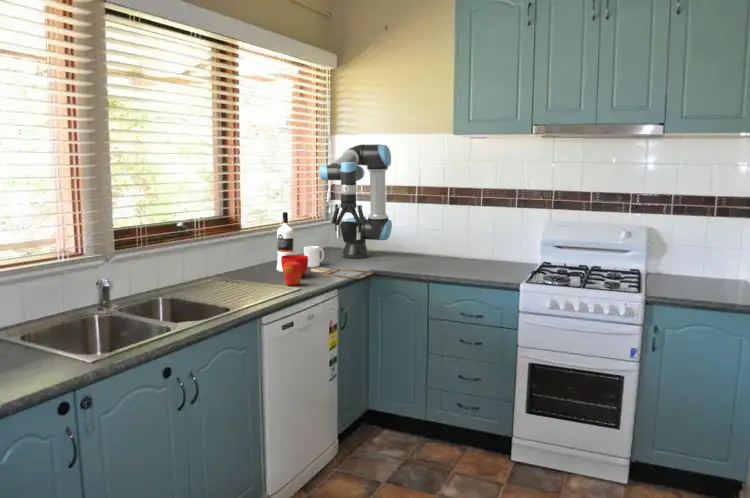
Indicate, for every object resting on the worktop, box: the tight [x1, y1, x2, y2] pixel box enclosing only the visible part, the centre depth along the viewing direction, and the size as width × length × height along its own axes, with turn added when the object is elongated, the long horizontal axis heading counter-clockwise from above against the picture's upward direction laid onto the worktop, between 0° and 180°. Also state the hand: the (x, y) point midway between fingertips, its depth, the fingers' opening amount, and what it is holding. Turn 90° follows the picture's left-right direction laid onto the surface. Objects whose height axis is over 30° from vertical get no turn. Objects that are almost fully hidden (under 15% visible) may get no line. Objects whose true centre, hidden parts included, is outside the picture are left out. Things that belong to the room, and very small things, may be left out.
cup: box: [303, 245, 325, 268], centre depth 334 cm, size 8×12×10 cm
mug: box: [340, 221, 358, 243], centre depth 309 cm, size 8×12×10 cm
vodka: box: [276, 211, 295, 273], centre depth 315 cm, size 9×9×30 cm
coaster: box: [309, 267, 333, 274], centre depth 320 cm, size 11×11×1 cm
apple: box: [283, 259, 302, 286], centre depth 283 cm, size 9×8×12 cm
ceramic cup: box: [281, 254, 308, 278], centre depth 303 cm, size 13×17×10 cm
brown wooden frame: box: [320, 267, 376, 280], centre depth 311 cm, size 19×21×1 cm
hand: (348, 238), depth 309 cm, fingers closed on mug, 10 cm apart
